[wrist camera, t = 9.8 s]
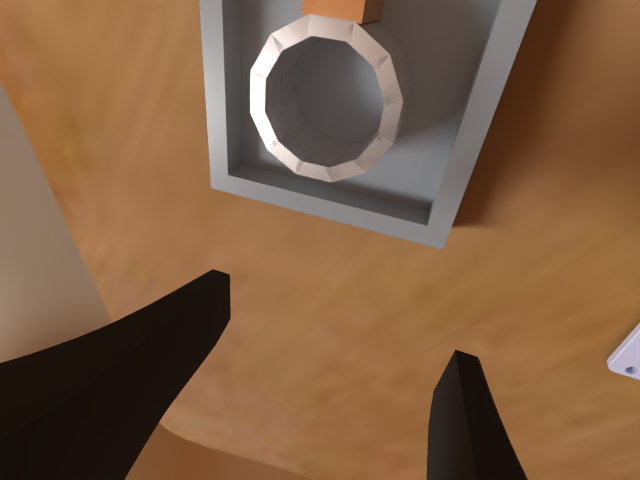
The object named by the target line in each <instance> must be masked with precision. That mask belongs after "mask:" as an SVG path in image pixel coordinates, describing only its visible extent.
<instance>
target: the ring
mask: <svg viewBox="0 0 640 480" xmlns="http://www.w3.org/2000/svg"><path fill="white" fill-rule="evenodd" d="M383 5H384V0H303V2H302V15H306V16H304V17H302V18H300V19H298V20H296V21H294V22H293V23H291V24H289V25H287V26H285V27H283V28H281V29H279V30H277V31H275V32H274V33H272V34H271V35H270V36H269V38H268V40H267V42H266V44H265V46H264V47H263V49H262V51H261V53H260V55H259V57H258V58H257V60H256V62H255V64H254V66H253V68H252V69H251V77H250V113H251V115H252V118H253V120H254V122H255V124H256V126H257V128H258V131H259V133H260V135H261V137H262V139H263V141H264V143H265V146H266V148H267V150H269V151H270V152H271V153H272V154H273V155H274V156H276V157H277V158H278V159H279V160H280V161H281V162H283V163H284V164H285V165H286V166H287V167H289V168H290V169H291V170H292V171H293V172H294V173H296V174H299V175H303V176H307V177H311V178H315V179H319V180H323V181H327V182H335V181H338V180H342V179H345V178H349V177H352V176H356V175H360V174H363V173H366V172H367V171H368V170H369V169H370V168H371V167H372V166H373V165H374V164H375V163H376V162H377V161H378V160H379V159H380V157H381V156H382V155H383V154H384V153H385V152H386V151H387V150H388V149H389V148H390V147H391V146H392V145H393V143H394V141H395V139H396V137H397V135H398V133H399V131H400V129H401V126H402V124H403V122H404V120H405V117H406V113H407V109H408V105H409V100H410V96H411V92H412V88H413V84H414V80H413V77H412V73H411V70H410V66H409V62H408V59H407V55H406V51H405V48H404V44H403V43H402V42H401V41H400V40H399V39H398V38H397V37H396V36H395V35H394V34H393V33H392V32H391V31H389V30H388V29H387V28H386V27H385V26H384V25H383V24H382V23H381V22H380V21H379V20H380V19H381V16H382V11H383ZM322 37H323V38H329V39H335V40H341V41H346V42H347V43H349V44H350V45H351V46H352V47H353V48H354V49H355V50H356V51H357V52H358V53H359V54H360V55H361V56H363V57H364V58H365V59H366V60H367V61H368V62H369V63H370V64H371V65H372V66H373V67H374V70H375V73H376V76H377V79H378V82H379V86H380V89H381V92H382V95H383V98H384V102H385V103H384V108H383V113H382V118H381V123H380V127H379V128H378V129H377V130H376V131H375V132H374V133H372V134H369V135H366V136H363V137H360V138H356V139H353V140H346V139H342V138H337V137H333V136H328V135H326V134H325V133H324V132H322V131H321V130H320V129H319V128H318V127H317V126H316V125H314V124H313V123H312V122H311V121H310V120H309V119H308V118H307V116H306V114H305V111H304V109H303V106H302V104H301V101H300V99H299V96H298V94H297V91H298V77H299V65H300V63H301V62H302V60H303V59H304V57H305V56H306V54H307V52H308V51H309V49H310V48H311V46H312V44H313V43H314V41H316V40H318V39H320V38H322Z"/></svg>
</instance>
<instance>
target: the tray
mask: <svg viewBox="0 0 640 480" xmlns="http://www.w3.org/2000/svg"><path fill="white" fill-rule="evenodd" d="M199 2H200V18H201V34H202V50H203V65H204V81H205V97H206V113H207V129H208V144H209V160H210V176H211V188H212V189H216V190H220V191H224V192H228V193H231V194H235V195H239V196H243V197H246V198H250V199H254V200H258V201H262V202H265V203H269V204H273V205H277V206H280V207H284V208H288V209H292V210H295V211H299V212H303V213H307V214H311V215H314V216H318V217H322V218H326V219H329V220H333V221H337V222H341V223H345V224H348V225H352V226H356V227H360V228H363V229H367V230H371V231H375V232H378V233H382V234H386V235H390V236H394V237H397V238H401V239H405V240H409V241H412V242H416V243H420V244H424V245H428V246H431V247H435V248H439V249H443V248H444V246H445V243H446V240H447V238H448V235H449V232H450V230H451V227H452V224H453V222H454V219H455V216H456V214H457V211H458V209H459V206H460V203H461V201H462V198H463V195H464V193H465V190H466V187H467V185H468V182H469V179H470V177H471V174H472V171H473V169H474V166H475V163H476V161H477V158H478V155H479V153H480V150H481V147H482V145H483V142H484V140H485V137H486V134H487V132H488V129H489V126H490V124H491V121H492V118H493V116H494V113H495V110H496V108H497V105H498V102H499V100H500V97H501V94H502V92H503V89H504V86H505V84H506V81H507V79H508V76H509V73H510V71H511V68H512V65H513V63H514V60H515V57H516V55H517V52H518V49H519V47H520V44H521V41H522V39H523V36H524V33H525V31H526V28H527V25H528V23H529V20H530V17H531V15H532V12H533V10H534V7H535V4H536V2H537V0H384V5H383V11H382V16H381V19H380V20H379V21H380V22H381V23H382V24H383V25H384V26H385V27H386V28H387V29H388V30H389V31H391V32H392V33H393V34H394V35H395V36H396V37H397V38H398V39H399V40H400V41H401V42H402V43H403V44H404V48H405V51H406V55H407V59H408V62H409V66H410V70H411V73H412V77H413V80H414V84H413V88H412V92H411V96H410V100H409V105H408V109H407V113H406V117H405V120H404V122H403V124H402V126H401V129H400V131H399V133H398V135H397V137H396V139H395V141H394V143H393V145H392V146H391V147H390V148H389V149H388V150H387V151H386V152H385V153H384V154H383V155H382V156H381V157H380V159H379V160H378V161H377V162H376V163H375V164H374V165H373V166H372V167H371V168H370V169H369V170H368V171H367V172H366V173H363V174H360V175H356V176H352V177H349V178H345V179H342V180H338V181H335V182H327V181H323V180H319V179H315V178H311V177H307V176H303V175H299V174H296V173H294V172H293V171H292V170H291V169H290V168H289V167H287V166H286V165H285V164H284V163H283V162H281V161H280V160H279V159H278V158H277V157H276V156H274V155H273V154H272V153H271V152H270V151H269V150H267V148H266V146H265V143H264V141H263V139H262V137H261V135H260V133H259V131H258V128H257V126H256V124H255V122H254V120H253V118H252V115H251V113H250V77H251V69H252V68H253V66H254V64H255V62H256V60H257V58H258V57H259V55H260V53H261V51H262V49H263V47H264V46H265V44H266V42H267V40H268V38H269V36H270V35H271V34H272V33H274V32H275V31H277V30H279V29H281V28H283V27H285V26H287V25H289V24H291V23H293V22H294V21H296V20H298V19H300V18H302V17H304V16H306V15H302V2H303V0H199ZM297 94H298V96H299V99H300V101H301V104H302V106H303V109H304V111H305V114H306V116H307V118H308V119H309V120H310V121H311V122H312V123H313V124H314V125H316V126H317V127H318V128H319V129H320V130H321V131H322V132H324V133H325V134H326V135H328V136H333V137H337V138H342V139H346V140H353V139H356V138H360V137H363V136H366V135H369V134H372V133H374V132H375V131H376V130H377V129H378V128H379V127H380V123H381V118H382V113H383V108H384V103H385V102H384V98H383V95H382V92H381V89H380V86H379V82H378V79H377V76H376V73H375V70H374V67H373V66H372V65H371V64H370V63H369V62H368V61H367V60H366V59H365V58H364V57H363V56H361V55H360V54H359V53H358V52H357V51H356V50H355V49H354V48H353V47H352V46H351V45H350V44H349V43H347V42H346V41H341V40H335V39H329V38H323V37H322V38H320V39H318V40H316V41H314V43H313V44H312V46H311V48H310V49H309V51H308V52H307V54H306V56H305V57H304V59H303V60H302V62H301V63H300V65H299V77H298V91H297Z"/></svg>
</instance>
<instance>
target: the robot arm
mask: <svg viewBox="0 0 640 480" xmlns="http://www.w3.org/2000/svg"><path fill="white" fill-rule="evenodd" d="M229 320H230V275H229V274H226V273H223V272H220V271H217V270H214V269H213V270H211V271H209V272H207V273H205V274H203V275H202V276H200V277H198V278H196V279H195V280H193V281H191V282H189V283H188V284H186V285H184V286H182V287H181V288H179V289H177V290H175V291H173V292H172V293H170V294H168V295H166V296H164V297H162V298H161V299H159V300H157V301H155V302H153V303H151V304H150V305H148V306H146V307H144V308H142V309H140V310H138V311H136V312H134V313H132V314H130V315H128V316H126V317H124V318H122V319H120V320H117V321H115V322H113V323H111V324H109V325H107V326H104V327H102V328H100V329H97V330H95V331H92V332H90V333H87V334H85V335H83V336H80V337H78V338H75V339H72V340H70V341H67V342H64V343H61V344H58V345H55V346H52V347H50V348H47V349H44V350H41V351H38V352H35V353H32V354H29V355H26V356H23V357H19V358H17V359H13V360H10V361H6V362H3V363H0V480H125V478H126V476H127V474H128V473H129V471H130V469H131V468H132V466H133V464H134V462H135V461H136V459H137V457H138V456H139V454H140V452H141V451H142V449H143V447H144V446H145V444H146V442H147V441H148V439H149V437H150V436H151V434H152V433H153V431H154V429H155V428H156V426H157V425H158V423H159V421H160V420H161V418H162V417H163V415H164V414H165V412H166V411H167V409H168V408H169V406H170V405H171V404H172V402H173V401H174V400H175V398H176V397H177V396H178V394H179V393H180V392H181V390H182V389H183V388H184V386H185V385H186V384H187V382H188V381H189V380H190V378H191V377H192V376H193V374H194V373H195V372H196V370H197V369H198V368H199V367H200V365H201V364H202V362H203V361H204V360H205V358H206V357H207V356H208V354H209V353H210V352H211V350H212V349H213V348H214V346H215V345H216V343H217V341H218V340H219V338H220V336H221V335H222V333H223V331H224V329H225V328H226V326H227V324H228V322H229ZM607 364H608V367H609V369H610V370H611V371H613V372H616V373H619V374H622V375H626V376H629V377H632V378H636V379H639V380H640V323H639V324H638V325H637V326H636V328H635V329H634V330H633V331H632V332H631V333H630V334H629V335H628V337H627V338H626V339H625V340H624V341H623V342H622V343H621V345H620V346H619V347H618V348H617V349H616V350H615V351H614V352H613V354H612V355H611V356H610V357H609V358H608V360H607ZM628 367H631V368H628ZM427 480H528V479H527V477H526V475H525V473H524V471H523V469H522V467H521V464H520V462H519V460H518V458H517V456H516V454H515V451H514V449H513V447H512V445H511V442H510V440H509V438H508V435H507V433H506V430H505V428H504V426H503V423H502V421H501V418H500V416H499V413H498V411H497V408H496V406H495V403H494V400H493V398H492V395H491V392H490V390H489V387H488V384H487V381H486V378H485V375H484V372H483V370H482V367H481V363H480V361H479V359H478V357H476V356H473V355H470V354H467V353H464V352H461V351H458V350H455V352H454V354H453V356H452V357H451V359H450V361H449V363H448V365H447V367H446V369H445V371H444V373H443V374H442V376H441V378H440V380H439V382H438V384H437V386H436V388H435V390H434V392H433V399H432V405H431V412H430V419H429V427H428V454H427Z"/></svg>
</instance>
